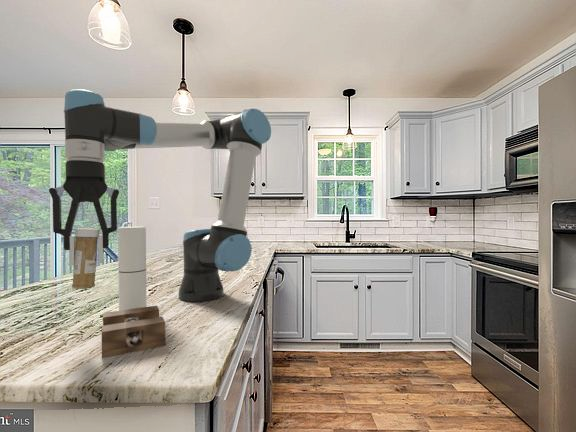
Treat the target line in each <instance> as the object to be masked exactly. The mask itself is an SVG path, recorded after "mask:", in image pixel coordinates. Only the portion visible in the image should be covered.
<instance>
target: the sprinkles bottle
mask: <svg viewBox="0 0 576 432" xmlns="http://www.w3.org/2000/svg"><path fill="white" fill-rule="evenodd" d="M99 234H100V229H99V228H93V227H78V228H76V229H75V233H74V235H75V258H74V265H73V266H72V267H73V269H72V275H73V276H72V285H71V288H72V289H76V290H86V289H92V288H94V287H95V286H96V282H95V281H96V271H97V258H98V243H99Z"/></svg>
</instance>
